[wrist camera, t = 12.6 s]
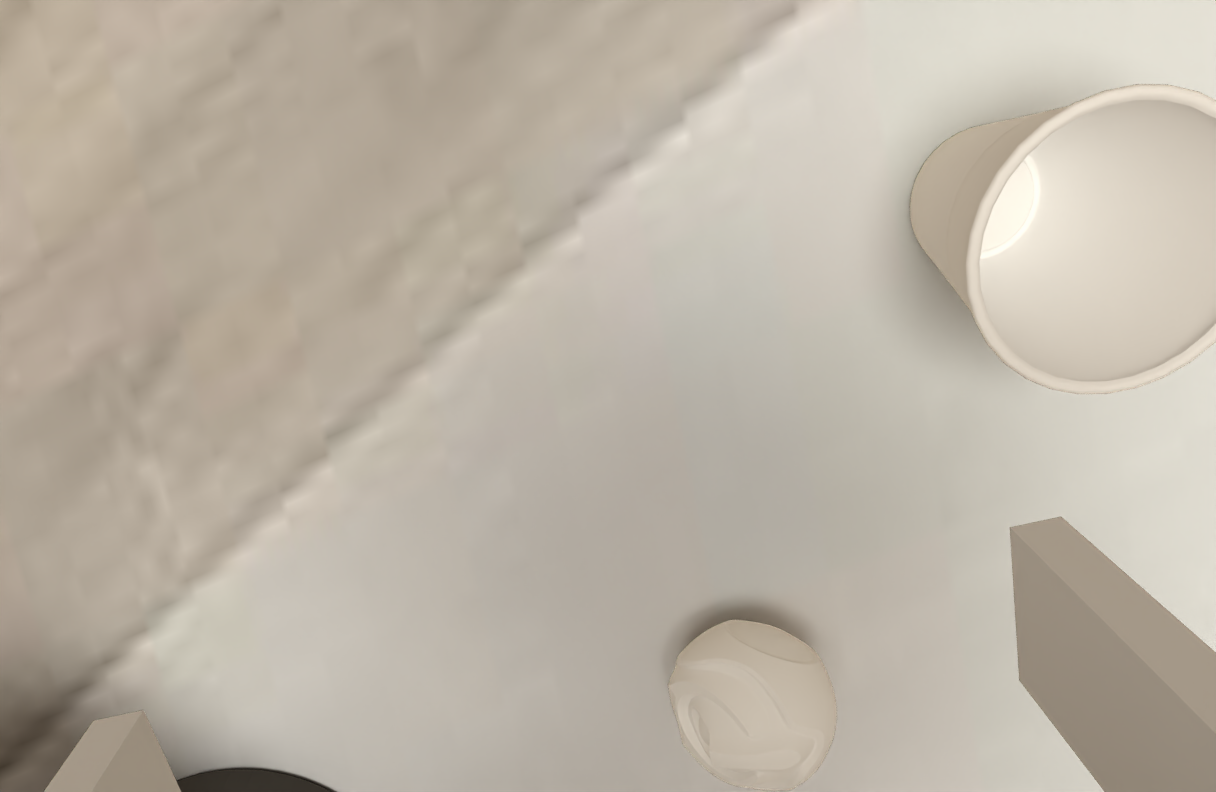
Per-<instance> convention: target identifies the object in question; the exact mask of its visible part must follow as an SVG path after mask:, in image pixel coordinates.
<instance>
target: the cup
mask: <svg viewBox="0 0 1216 792" xmlns="http://www.w3.org/2000/svg"><path fill="white" fill-rule="evenodd" d="M910 217H911V224H912V227H913V231H914V234H915V236H916V238H917V240H918V242H919V244H920V245H921V247H922V248H923V250H924V251H925V252H926V253H927V255H928V256H929V257H930V259H931V260H932V261H933V262H934V264H935V265H936V266H937V268H938V269H939V270H940V271H941V273H942V274H943V275H944V277H945V278H946V279H947V280H948V282H949V283H950V284H951V286H952V287H953V288H954V290H955V291H956V292H957V293H958V295H959V296H960V297H961V299H962V300H963V302H964V303H965V304H966V306H967V307H968V308H969V310H970V311H971V312H972V314H973V318H974V320H975V322H976V324H977V326H978V328H979V330H980V332H981V334H982V336H983V337H984V339H985V341H986V343H987V344H988V345H989V347H990V348H991V349H992V350H993V351H994V352H995V353H996V355H997V356H998V357H999V358H1000V359H1001V360H1002V361H1003V363H1005V364H1006V365H1007V366H1009V367H1010V368H1012V369H1013V370H1014V371H1016V372H1017V373H1018V374H1020V375H1021V376H1023V377H1024V378H1026V379H1028V380H1030V381H1033V382H1035V383H1038V384H1040V385H1042V386H1045V387H1047V388H1049V389H1053V390H1058V391H1064V392H1069V393H1074V394H1108V393H1113V392H1118V391H1123V390H1129V389H1134V388H1137V387H1140V386H1143V385H1145V384H1148V383H1151V382H1153V381H1156V380H1159V379H1161V378H1164V377H1165V376H1167V375H1169V374H1171V373H1172V372H1174V371H1176V370H1178V369H1179V368H1181V367H1183V366H1185V365H1186V364H1188V363H1190V362H1191V361H1193V360H1194V359H1195V358H1196V357H1198V356H1199V355H1200V354H1201V353H1203V352H1204V351H1205V350H1206V349H1208V348H1209V347H1210V346H1211V345H1213V344H1214V343H1215V342H1216V100H1214V99H1212V98H1210V97H1208V96H1206V95H1204V94H1202V93H1200V92H1198V91H1194V90H1189V89H1185V88H1181V87H1176V86H1172V85H1161V84H1136V85H1131V86H1126V87H1121V88H1116V89H1111V90H1106V91H1103V92H1100V93H1098V94H1095V95H1093V96H1090V97H1088V98H1085V99H1083V100H1080V101H1078V102H1076V103H1073V104H1071V105H1070V106H1066V107H1062V108H1057V109H1053V110H1048V111H1045V112H1040V113H1035V114H1031V115H1027V116H1022V117H1017V118H1013V119H1008V120H1004V121H999V122H994V123H989V124H985V125H980V126H976V127H971V128H969V129H966V130H964V131H962V132H959V133H957V134H955V135H954V136H952V137H951V138H949V139H947V140H946V141H944V142H943V143H942V144H941V145H940V146H939V147H938V148H937V149H936V150H935V151H933V152H932V154H931V155H930V156H929V158H928V159H927V160H926V162H925V163H924V164H923V166H922V168H921V170H920V172H919V174H918V175H917V177H916V180H915V183H914V186H913V190H912V193H911V201H910Z"/></svg>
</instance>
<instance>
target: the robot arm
mask: <svg viewBox="0 0 1216 792" xmlns="http://www.w3.org/2000/svg"><path fill="white" fill-rule="evenodd" d="M1010 539H1011V555H1012V571H1013V587H1014V603H1015V619H1016V636H1017V652H1018V668H1019V680H1020V682H1021V683H1022V684H1023V686H1024V687H1025V688H1026V690H1027V691H1028V692H1029V694H1030V695H1031V696H1032V697H1033V699H1034V700H1035V701H1036V703H1037V704H1038V705H1039V707H1040V708H1041V709H1042V710H1043V712H1044V713H1045V714H1046V716H1047V717H1048V718H1049V720H1050V721H1051V722H1052V724H1053V725H1054V726H1055V727H1056V729H1057V730H1058V731H1059V733H1060V734H1061V735H1062V737H1063V738H1064V739H1065V741H1066V742H1067V743H1068V744H1069V746H1070V747H1071V748H1072V750H1073V751H1074V752H1075V754H1076V755H1077V756H1078V758H1079V759H1080V760H1081V761H1082V763H1083V764H1084V765H1085V767H1086V768H1087V769H1088V771H1089V772H1090V773H1091V775H1092V776H1093V777H1094V778H1095V780H1096V781H1097V782H1098V784H1099V785H1100V786H1101V788H1102V789H1103V790H1104V792H1216V652H1215V651H1213V650H1212V649H1211V648H1210V647H1209V646H1208V645H1207V644H1205V643H1204V642H1203V641H1202V640H1201V639H1200V638H1199V637H1197V636H1196V635H1195V634H1194V633H1193V632H1192V631H1191V630H1189V629H1188V628H1187V627H1186V626H1185V625H1184V624H1183V623H1182V622H1180V621H1179V620H1178V619H1177V618H1176V617H1175V616H1174V615H1172V614H1171V613H1170V612H1169V611H1168V610H1167V609H1166V608H1164V607H1163V606H1162V605H1161V604H1160V603H1159V602H1158V601H1156V600H1155V599H1154V598H1153V597H1152V596H1151V595H1150V594H1149V593H1147V592H1146V591H1145V590H1144V589H1143V588H1142V587H1141V586H1139V585H1138V584H1137V583H1136V582H1135V581H1134V580H1133V579H1131V578H1130V577H1129V576H1128V575H1127V574H1126V573H1125V572H1123V571H1122V570H1121V569H1120V568H1119V567H1118V566H1117V565H1116V564H1114V563H1113V562H1112V561H1111V560H1110V559H1109V558H1108V557H1106V556H1105V555H1104V554H1103V553H1102V552H1101V551H1100V550H1098V549H1097V548H1096V547H1095V546H1094V545H1093V544H1092V543H1091V542H1089V541H1088V540H1087V539H1086V538H1085V537H1084V536H1083V535H1081V534H1080V533H1079V532H1078V531H1077V530H1076V529H1075V528H1073V527H1072V526H1071V525H1070V524H1069V523H1068V522H1067V521H1065V520H1064V519H1063V518H1062V517H1057V518H1052V519H1047V520H1043V521H1038V522H1033V523H1028V524H1024V525H1019V526H1014V527H1010ZM44 792H330V791H328V790H326V789H324V788H322V787H320V786H318V785H316V784H313V783H311V782H308V781H305V780H303V779H300V778H296V777H293V776H289V775H285V774H280V773H275V772H269V771H261V770H245V769H241V770H222V771H214V772H208V773H203V774H199V775H195V776H192V777H188V778H185V779H183V780H180V781H176V779H175V777H174V775H173V773H172V771H171V768H170V766H169V764H168V762H167V760H166V758H165V755H164V753H163V751H162V749H161V747H160V745H159V743H158V740H157V738H156V736H155V734H154V732H153V730H152V727H151V725H150V723H149V721H148V719H147V717H146V714H145V712H144V710H141V711H136V712H131V713H127V714H122V715H117V716H113V717H108V718H103V719H98V720H94V721H93V722H92V723H91V725H90V726H89V728H88V729H87V731H86V732H85V733H84V735H83V736H82V738H81V739H80V741H79V742H78V743H77V745H76V746H75V748H74V749H73V751H72V752H71V753H70V755H69V756H68V758H67V759H66V761H65V762H64V763H63V765H62V766H61V768H60V769H59V771H58V772H57V773H56V775H55V776H54V778H53V779H52V781H51V782H50V783H49V785H48V786H47V788H46V789H45V791H44Z"/></svg>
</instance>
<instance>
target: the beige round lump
mask: <svg viewBox="0 0 1216 792" xmlns="http://www.w3.org/2000/svg"><path fill="white" fill-rule="evenodd" d="M668 687H669V695H670V700H671V704H672V707H673V711H674V713H675V716H676V719H677V723H678V726H679V730H680V735H681V740H682V744H683V745H684V747H685V748H686V749H687V750H688V751H689V753H690V754H691V755H692V756H693V757H694V758H695V759H696V760H697V761H698V762H699V763H700V764H701V765H702V766H703V767H704V768H705V769H706V770H707V771H709V772H710V773H711V774H713V775H714V776H715V777H717V778H719V779H720V780H722V781H724V782H726V783H728V784H731V785H734V786H738V787H748V788H753V789H760V790H768V791H786V790H791V789H793V788H795V787H797V786H799V785H800V784H802V783H803V782H805V781H806V780H807V779H808V778H810V777H811V776H812V775H813V774H814V773H815V771H816V770H817V769H818V768H819V766H820V765H821V764H822V762H823V760H824V759H825V757H826V755H827V753H828V751H829V748H830V746H831V743H832V741H833V737H834V734H835V729H836V721H837V708H836V699H835V694H834V690H833V687H832V684H831V681H830V678H829V676H828V673H827V671H826V669H825V667H824V665H823V663H822V661H821V659H820V657H819V656H818V654H817V653H816V652H815V651H814V650H813V649H812V648H811V647H810V646H809V645H807V644H806V643H804V642H803V641H801V640H800V639H798V638H796V637H794V636H792V635H790V634H789V633H787V632H785V631H783V630H781V629H779V628H777V627H774V626H771V625H767V624H763V623H758V622H752V621H746V620H728V621H725V622H723V623H720V624H718V625H716V626H714V627H712V628H710V629H708V630H706V631H705V632H703V633H702V634H700V635H699V636H698V637H696V638H695V639H694V640H693V641H692V642H691V643H689V644H688V645H687V646H686V647H685V649H684V650H683V651H682V652H681V653H680V654H679V655H678V657H677V659H676V667H675V669H674V671H673V673H672V676H671V678H670V680H669V683H668Z"/></svg>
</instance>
